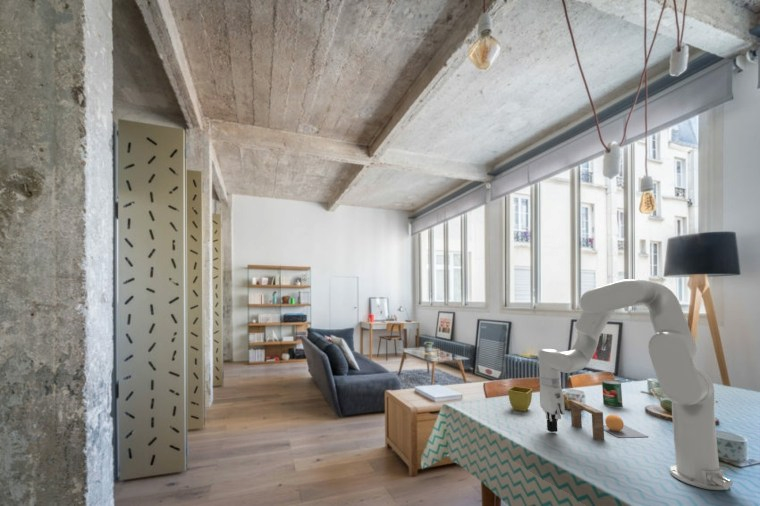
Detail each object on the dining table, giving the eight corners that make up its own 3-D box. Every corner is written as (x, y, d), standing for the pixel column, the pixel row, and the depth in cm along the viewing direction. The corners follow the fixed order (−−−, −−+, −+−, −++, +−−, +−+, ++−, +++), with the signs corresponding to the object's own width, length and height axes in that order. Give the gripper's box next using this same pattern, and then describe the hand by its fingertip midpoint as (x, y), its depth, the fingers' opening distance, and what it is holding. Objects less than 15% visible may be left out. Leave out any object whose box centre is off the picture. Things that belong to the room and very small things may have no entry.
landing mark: (648, 437, 134) (648, 436, 134) (618, 437, 133) (618, 437, 133) (624, 425, 146) (624, 424, 146) (596, 426, 145) (596, 425, 145)
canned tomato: (622, 404, 174) (620, 381, 175) (623, 408, 167) (621, 384, 168) (603, 401, 178) (601, 379, 179) (603, 405, 171) (601, 382, 173)
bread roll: (582, 419, 163) (589, 403, 163) (559, 408, 165) (566, 392, 165) (574, 412, 173) (581, 397, 173) (553, 401, 175) (560, 387, 175)
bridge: (604, 439, 131) (602, 412, 132) (596, 440, 131) (595, 412, 132) (578, 424, 146) (577, 400, 147) (571, 425, 145) (570, 400, 147)
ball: (612, 419, 137) (614, 435, 136) (626, 416, 138) (628, 432, 137) (600, 413, 142) (602, 428, 142) (613, 411, 143) (615, 426, 143)
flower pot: (528, 414, 159) (527, 393, 160) (508, 410, 164) (507, 389, 165) (533, 409, 166) (532, 388, 167) (513, 405, 171) (513, 385, 172)
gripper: (571, 386, 132) (573, 438, 130) (548, 377, 147) (550, 423, 145) (551, 386, 132) (553, 439, 129) (531, 377, 146) (533, 424, 144)
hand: (552, 430), depth 137 cm, fingers closed
